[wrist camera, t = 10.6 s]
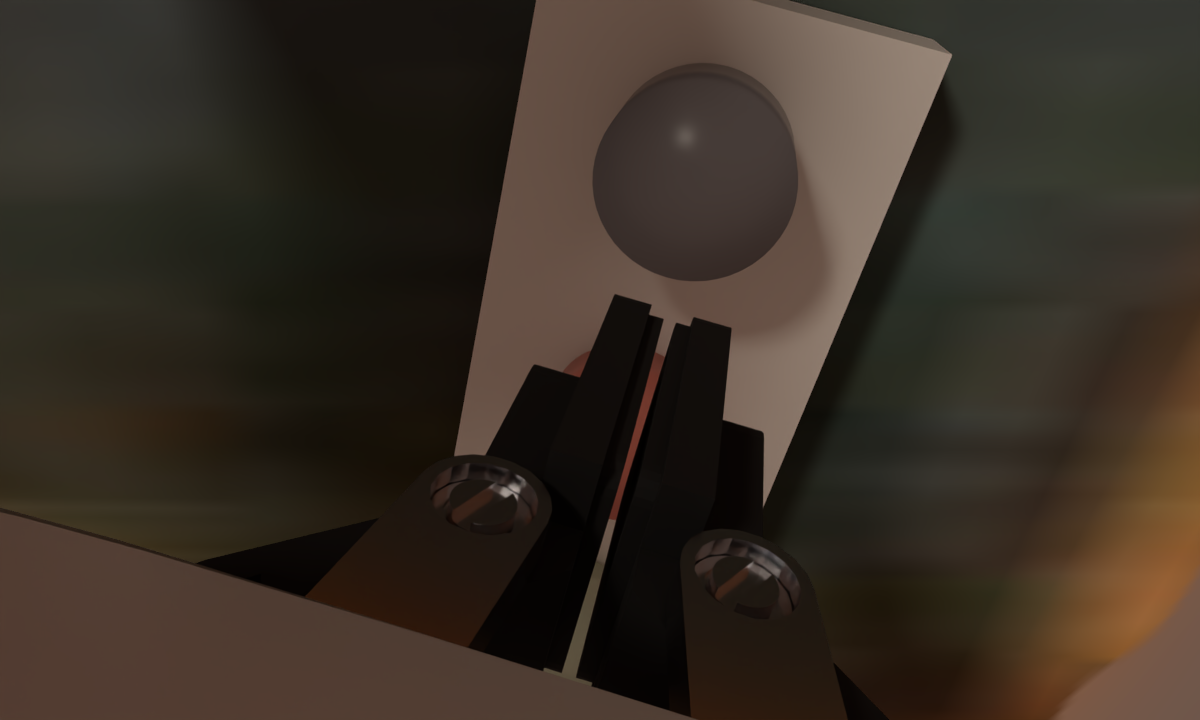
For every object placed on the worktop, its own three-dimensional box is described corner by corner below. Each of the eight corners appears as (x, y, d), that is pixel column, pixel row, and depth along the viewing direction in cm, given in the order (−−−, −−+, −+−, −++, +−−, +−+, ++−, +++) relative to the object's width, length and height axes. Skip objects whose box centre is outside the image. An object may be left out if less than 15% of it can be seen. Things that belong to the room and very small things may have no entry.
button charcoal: (633, 40, 22) (619, 54, 20) (822, 92, 22) (828, 112, 20) (590, 220, 24) (573, 250, 22) (760, 268, 24) (759, 304, 22)
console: (569, -60, 25) (546, -56, 23) (933, 39, 25) (952, 54, 22) (447, 576, 38) (423, 625, 35) (686, 649, 38) (680, 704, 35)
